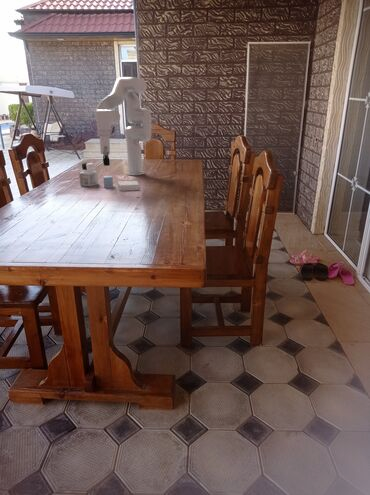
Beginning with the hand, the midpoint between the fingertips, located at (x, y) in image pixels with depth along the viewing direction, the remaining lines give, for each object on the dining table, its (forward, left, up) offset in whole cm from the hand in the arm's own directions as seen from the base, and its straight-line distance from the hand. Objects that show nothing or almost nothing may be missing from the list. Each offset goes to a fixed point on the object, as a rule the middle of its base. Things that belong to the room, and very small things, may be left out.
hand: (106, 164), depth 214 cm
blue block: (0, 0, -13) cm, 13 cm away
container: (-8, -11, -13) cm, 19 cm away
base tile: (+7, +11, -13) cm, 18 cm away
